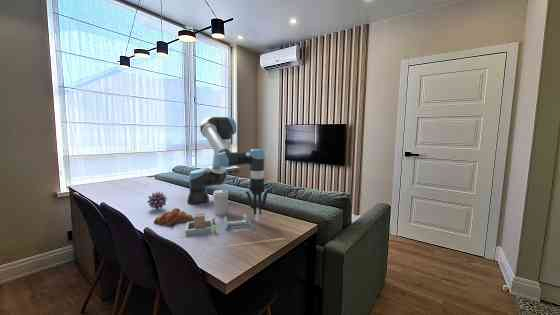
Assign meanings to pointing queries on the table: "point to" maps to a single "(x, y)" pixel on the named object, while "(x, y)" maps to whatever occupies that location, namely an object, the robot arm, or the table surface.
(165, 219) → the pastry
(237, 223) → the gate
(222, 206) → the coffee cup
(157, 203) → the spiky ball
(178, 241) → the table surface
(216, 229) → the housing
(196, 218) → the jaw block
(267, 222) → the table surface
